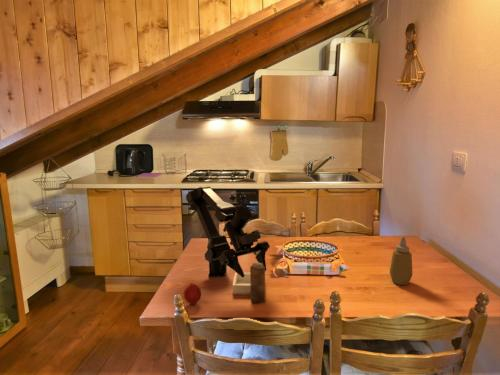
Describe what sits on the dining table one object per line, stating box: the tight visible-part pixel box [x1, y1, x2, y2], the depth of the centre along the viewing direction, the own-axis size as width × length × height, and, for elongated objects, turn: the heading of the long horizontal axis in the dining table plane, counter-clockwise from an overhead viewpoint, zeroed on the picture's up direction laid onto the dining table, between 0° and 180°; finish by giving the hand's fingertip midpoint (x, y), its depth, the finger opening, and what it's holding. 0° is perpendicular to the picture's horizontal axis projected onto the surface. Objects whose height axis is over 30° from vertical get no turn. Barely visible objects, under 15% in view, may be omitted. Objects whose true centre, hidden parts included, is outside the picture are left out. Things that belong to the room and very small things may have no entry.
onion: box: [183, 282, 202, 306], centre depth 125 cm, size 6×6×8 cm
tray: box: [232, 272, 251, 296], centre depth 138 cm, size 11×11×4 cm
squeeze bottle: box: [389, 236, 413, 286], centre depth 140 cm, size 8×8×18 cm
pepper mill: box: [249, 262, 266, 305], centre depth 127 cm, size 5×5×13 cm
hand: (254, 273), depth 128 cm, fingers open, 9 cm apart
